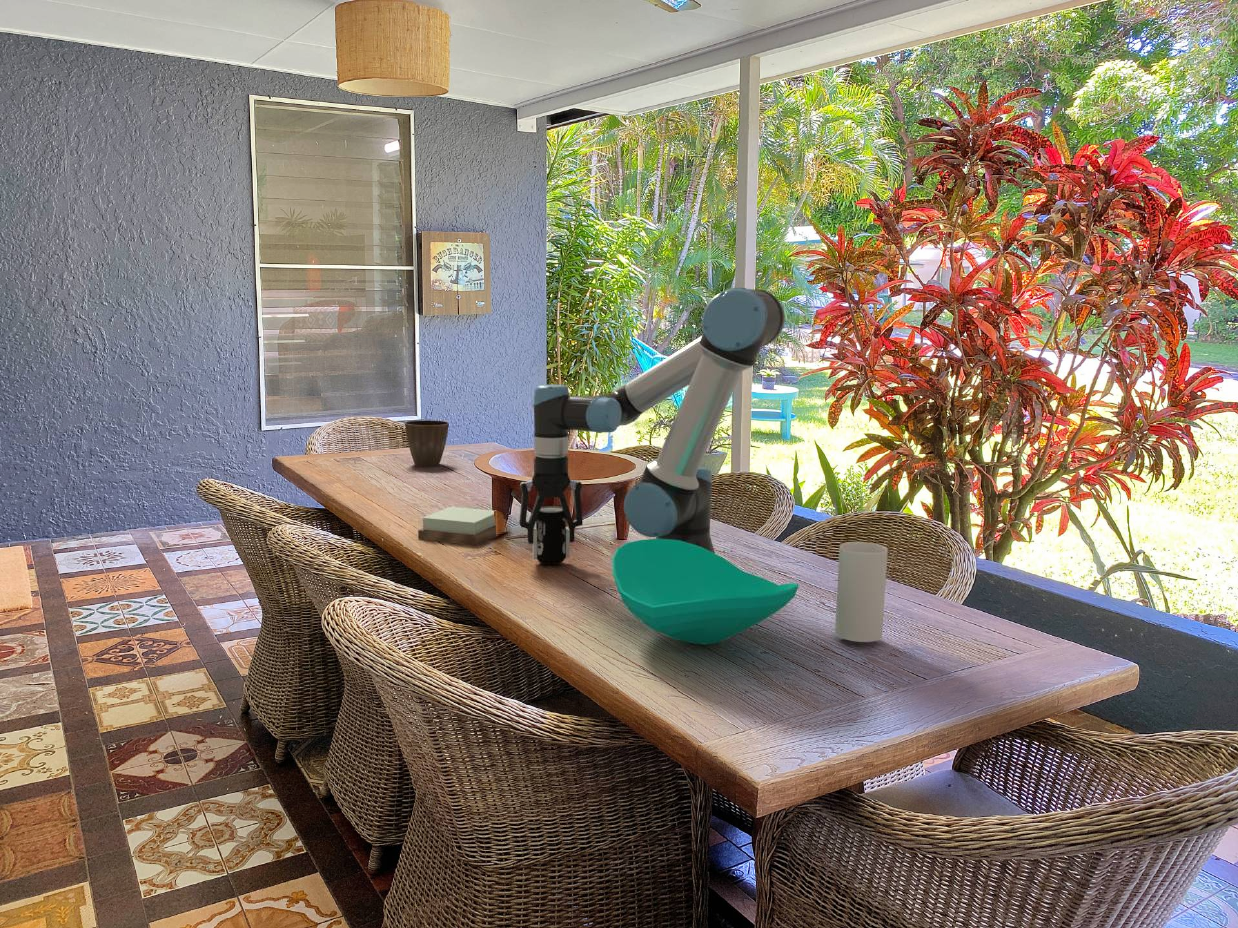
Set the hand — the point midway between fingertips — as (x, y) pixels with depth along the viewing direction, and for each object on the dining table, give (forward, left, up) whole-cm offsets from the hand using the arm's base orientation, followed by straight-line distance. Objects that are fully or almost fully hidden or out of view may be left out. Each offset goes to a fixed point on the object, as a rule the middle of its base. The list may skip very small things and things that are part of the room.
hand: (551, 556), depth 219 cm
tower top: (+31, -15, +1) cm, 34 cm away
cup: (-70, +23, -2) cm, 73 cm away
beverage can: (0, 0, -1) cm, 1 cm away
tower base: (+30, -15, -2) cm, 34 cm away
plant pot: (+89, -98, -2) cm, 133 cm away
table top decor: (-44, +35, -2) cm, 56 cm away
